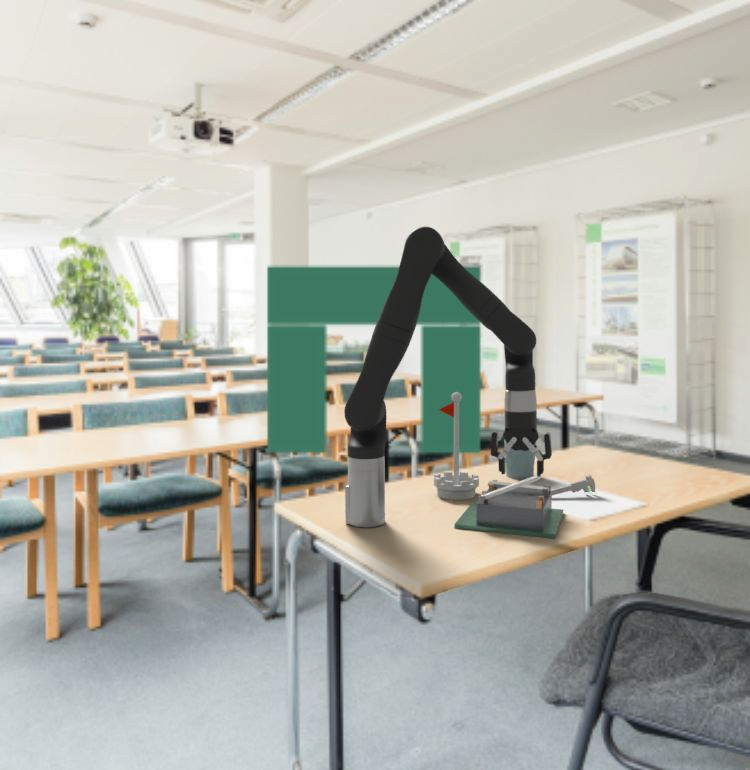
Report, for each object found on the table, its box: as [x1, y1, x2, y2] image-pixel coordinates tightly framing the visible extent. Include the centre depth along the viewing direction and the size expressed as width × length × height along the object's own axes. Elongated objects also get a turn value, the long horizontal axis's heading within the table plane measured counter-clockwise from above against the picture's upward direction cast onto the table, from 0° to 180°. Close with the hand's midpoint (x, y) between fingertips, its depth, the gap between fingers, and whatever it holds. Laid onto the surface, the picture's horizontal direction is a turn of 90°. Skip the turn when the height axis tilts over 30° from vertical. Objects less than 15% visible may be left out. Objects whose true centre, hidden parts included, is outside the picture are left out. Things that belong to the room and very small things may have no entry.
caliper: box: [551, 474, 596, 496], centre depth 193 cm, size 20×1×6 cm, turn 101°
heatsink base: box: [454, 479, 565, 540], centre depth 171 cm, size 24×21×8 cm
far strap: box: [487, 480, 550, 493], centre depth 177 cm, size 16×3×1 cm, turn 70°
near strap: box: [481, 474, 542, 499], centre depth 166 cm, size 16×3×1 cm, turn 67°
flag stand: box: [433, 391, 480, 501], centre depth 195 cm, size 13×13×30 cm
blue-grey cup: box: [503, 438, 537, 480], centre depth 217 cm, size 10×10×12 cm
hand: (521, 474), depth 164 cm, fingers open, 8 cm apart
